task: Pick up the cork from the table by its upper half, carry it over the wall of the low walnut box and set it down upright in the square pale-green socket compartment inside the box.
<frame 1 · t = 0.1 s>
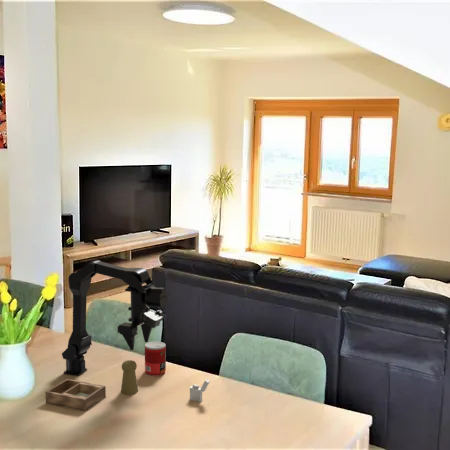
hand: (139, 345, 221), 15 cm above the table, tool pointing down, fingers open, 9 cm apart
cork: (129, 391, 218), on the table
canned food: (155, 372, 235), on the table
lighter: (199, 401, 211), on the table
socket box: (76, 399, 210), on the table
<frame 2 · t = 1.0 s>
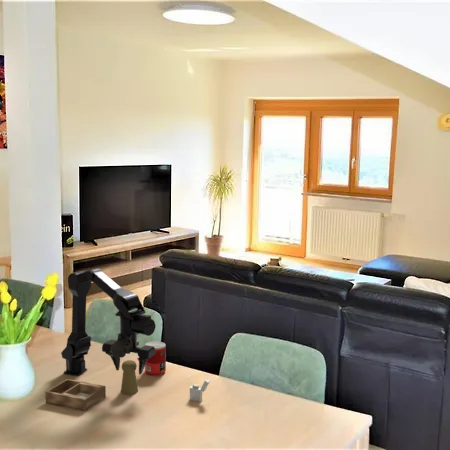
hand: (129, 372, 217), 7 cm above the table, tool pointing down, fingers open, 9 cm apart
nothing on the table moved.
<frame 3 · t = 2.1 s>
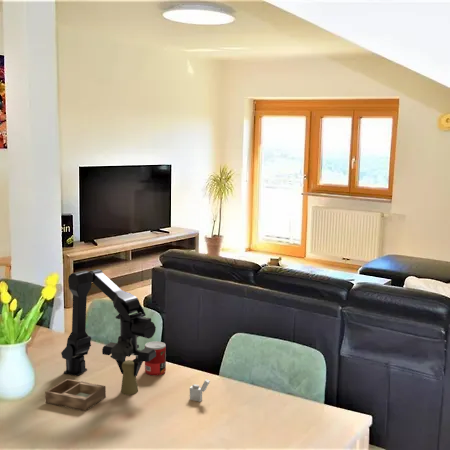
hand: (129, 374, 217), 6 cm above the table, tool pointing down, fingers closed on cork, 5 cm apart
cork: (129, 391, 218), on the table, touching gripper
everything else where it was.
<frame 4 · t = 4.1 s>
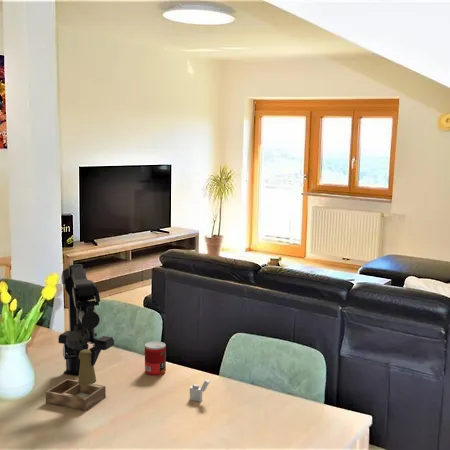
hand: (86, 364, 208), 13 cm above the table, tool pointing down, fingers closed on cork, 5 cm apart
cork: (87, 381, 209), point 7 cm above the table, touching gripper
everything else where it was.
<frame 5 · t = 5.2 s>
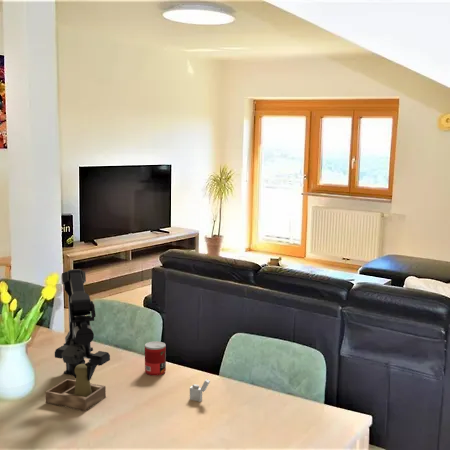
hand: (82, 379, 208), 8 cm above the table, tool pointing down, fingers closed on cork, 5 cm apart
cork: (83, 396, 209), point 2 cm above the table, touching gripper
everything else where it was.
when the fingers open (8 cm above the table, at t = 5.9 s): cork drops 1 cm, resting on socket box.
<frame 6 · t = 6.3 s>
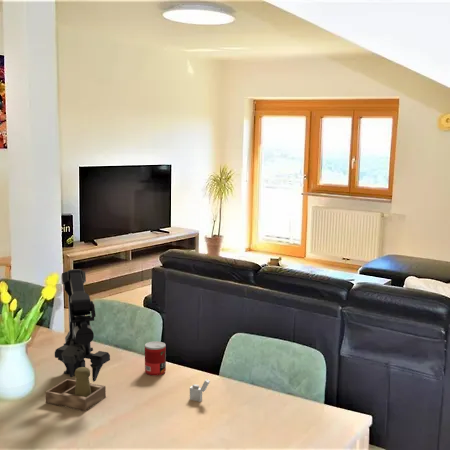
hand: (82, 379, 208), 8 cm above the table, tool pointing down, fingers open, 9 cm apart
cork: (83, 399, 209), point 1 cm above the table, touching socket box
everything else where it was.
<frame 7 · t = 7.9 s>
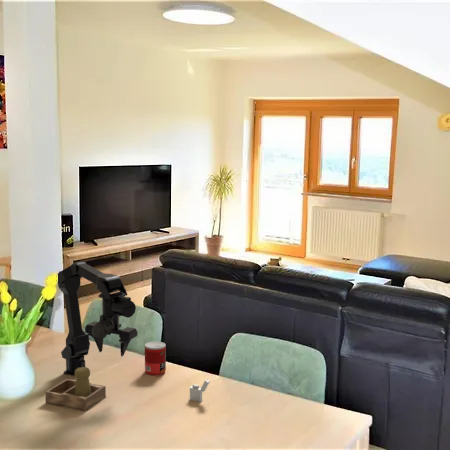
hand: (111, 353, 218), 13 cm above the table, tool pointing down, fingers open, 9 cm apart
nothing on the table moved.
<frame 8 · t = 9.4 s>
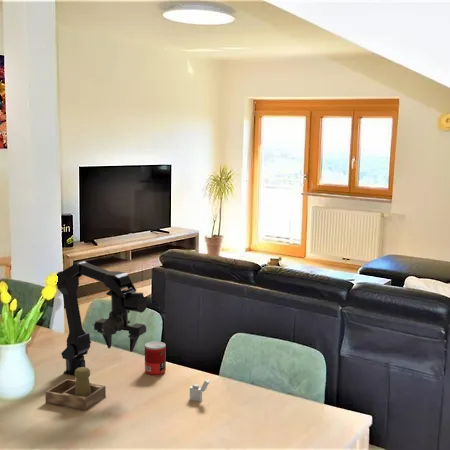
hand: (120, 349, 222), 13 cm above the table, tool pointing down, fingers open, 9 cm apart
nothing on the table moved.
at the end: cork 0.1 cm from the target spot on the socket box, point 0.6 cm above the socket box's base; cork tilted 0°; the gripper is holding nothing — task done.
